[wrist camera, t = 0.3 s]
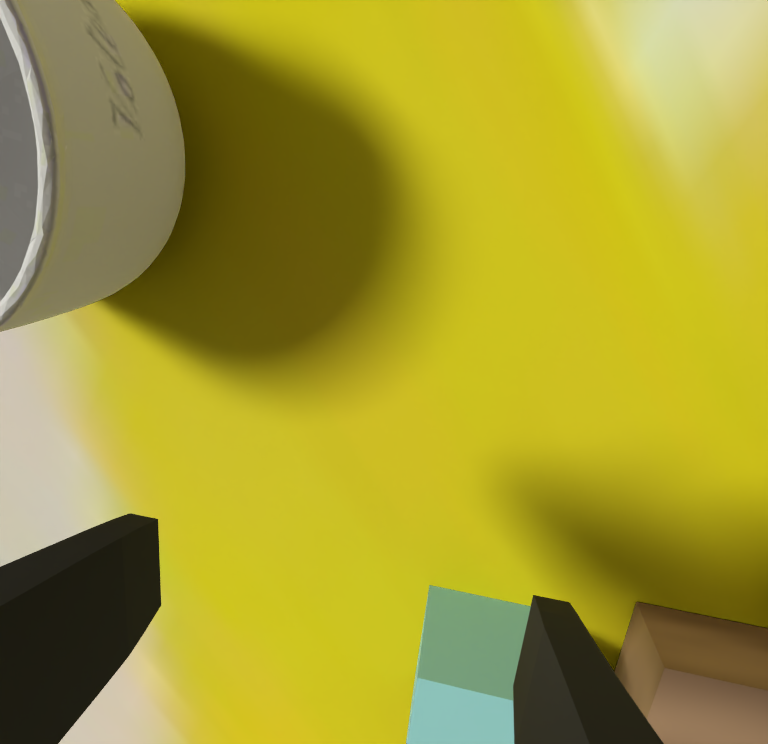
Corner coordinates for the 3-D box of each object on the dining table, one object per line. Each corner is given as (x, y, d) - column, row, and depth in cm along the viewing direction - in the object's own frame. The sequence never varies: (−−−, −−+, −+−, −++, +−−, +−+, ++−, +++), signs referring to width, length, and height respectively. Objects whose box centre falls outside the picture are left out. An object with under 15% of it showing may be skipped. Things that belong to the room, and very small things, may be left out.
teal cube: (520, 693, 21) (531, 810, 17) (416, 668, 22) (401, 776, 17) (541, 607, 20) (559, 711, 16) (429, 583, 20) (417, 677, 16)
